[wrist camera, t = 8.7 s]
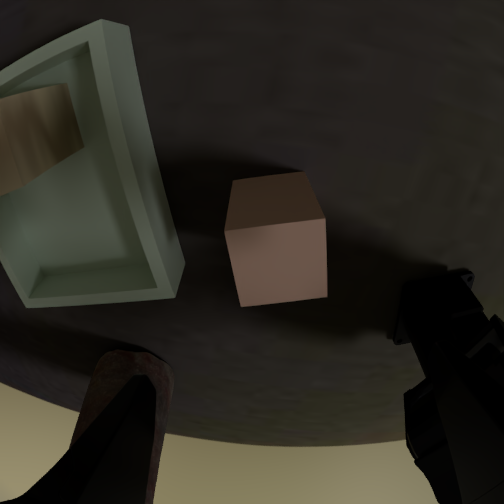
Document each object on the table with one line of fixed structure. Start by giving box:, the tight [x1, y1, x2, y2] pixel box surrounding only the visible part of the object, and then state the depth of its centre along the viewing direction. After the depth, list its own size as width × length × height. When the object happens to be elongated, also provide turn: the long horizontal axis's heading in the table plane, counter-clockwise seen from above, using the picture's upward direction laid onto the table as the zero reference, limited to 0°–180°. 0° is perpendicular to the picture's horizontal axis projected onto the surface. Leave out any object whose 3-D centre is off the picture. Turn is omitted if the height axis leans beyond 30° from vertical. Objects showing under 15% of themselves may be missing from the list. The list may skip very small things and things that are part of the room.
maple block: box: [0, 83, 84, 196], centre depth 12 cm, size 4×4×6 cm
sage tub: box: [0, 19, 185, 308], centre depth 16 cm, size 15×12×4 cm
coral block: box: [224, 171, 327, 307], centre depth 16 cm, size 4×4×6 cm
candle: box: [69, 349, 174, 504], centre depth 19 cm, size 8×7×20 cm
